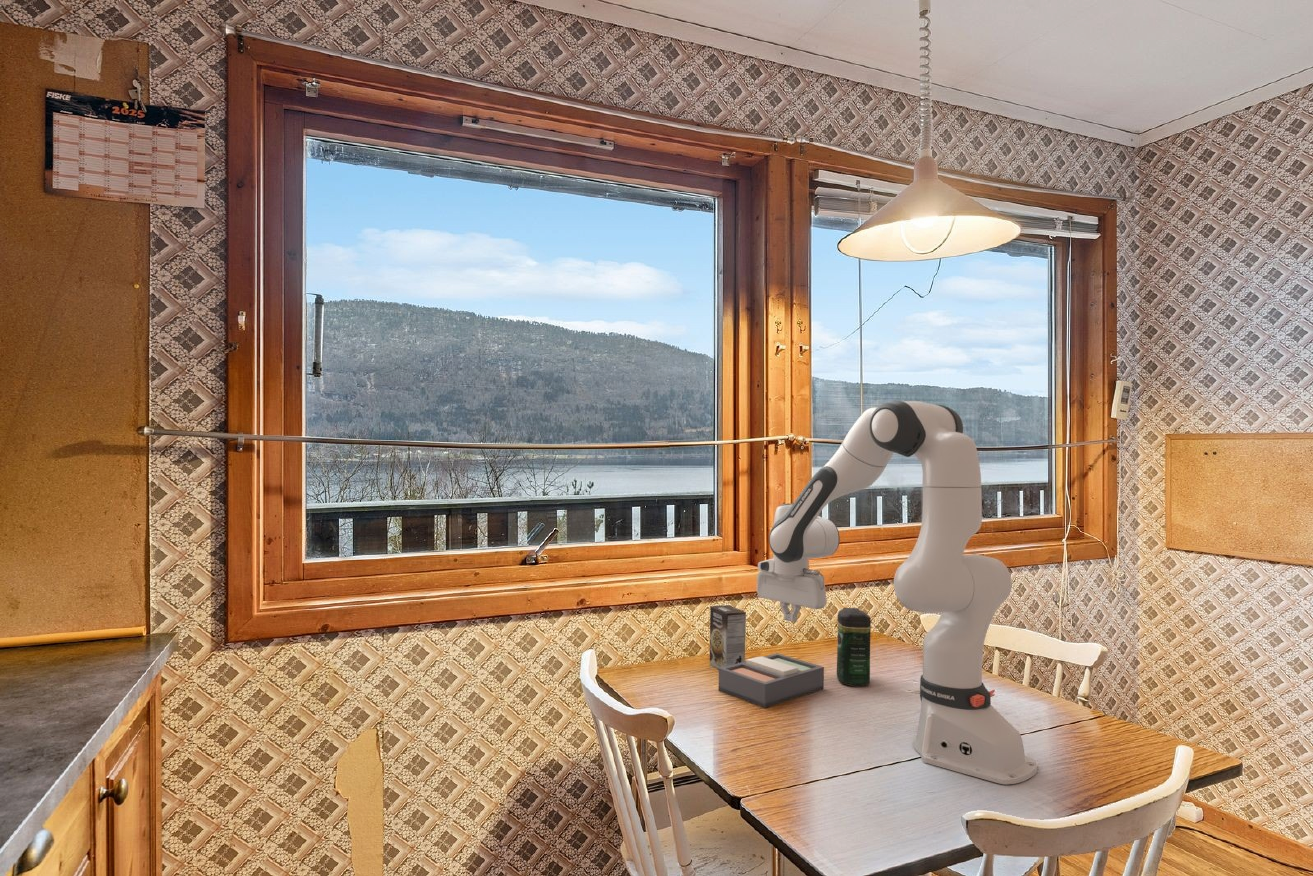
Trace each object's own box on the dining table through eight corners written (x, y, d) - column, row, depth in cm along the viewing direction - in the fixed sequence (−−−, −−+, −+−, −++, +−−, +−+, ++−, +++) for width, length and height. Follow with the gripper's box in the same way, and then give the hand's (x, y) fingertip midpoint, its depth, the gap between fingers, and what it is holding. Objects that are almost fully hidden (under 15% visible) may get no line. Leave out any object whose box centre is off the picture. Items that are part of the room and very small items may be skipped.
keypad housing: (823, 689, 182) (823, 667, 182) (764, 708, 168) (765, 684, 169) (777, 673, 194) (777, 653, 194) (718, 690, 180) (718, 668, 180)
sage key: (815, 681, 183) (815, 669, 183) (801, 685, 179) (801, 673, 179) (777, 669, 192) (777, 658, 192) (764, 673, 189) (764, 661, 189)
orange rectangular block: (779, 692, 174) (779, 680, 174) (764, 697, 171) (764, 684, 171) (741, 679, 183) (742, 667, 183) (727, 683, 180) (727, 671, 180)
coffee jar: (873, 688, 184) (874, 614, 184) (841, 687, 184) (842, 613, 184) (863, 676, 194) (864, 605, 194) (833, 675, 194) (834, 605, 194)
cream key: (797, 680, 178) (797, 667, 178) (783, 684, 175) (783, 671, 175) (760, 667, 188) (760, 656, 188) (746, 671, 184) (746, 659, 184)
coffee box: (708, 664, 202) (709, 606, 202) (728, 662, 204) (729, 604, 205) (725, 674, 193) (725, 613, 194) (745, 671, 196) (746, 611, 196)
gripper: (831, 570, 180) (831, 626, 180) (769, 560, 196) (768, 612, 195) (815, 573, 176) (815, 630, 176) (753, 562, 192) (752, 615, 191)
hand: (790, 620), depth 186 cm, fingers closed
